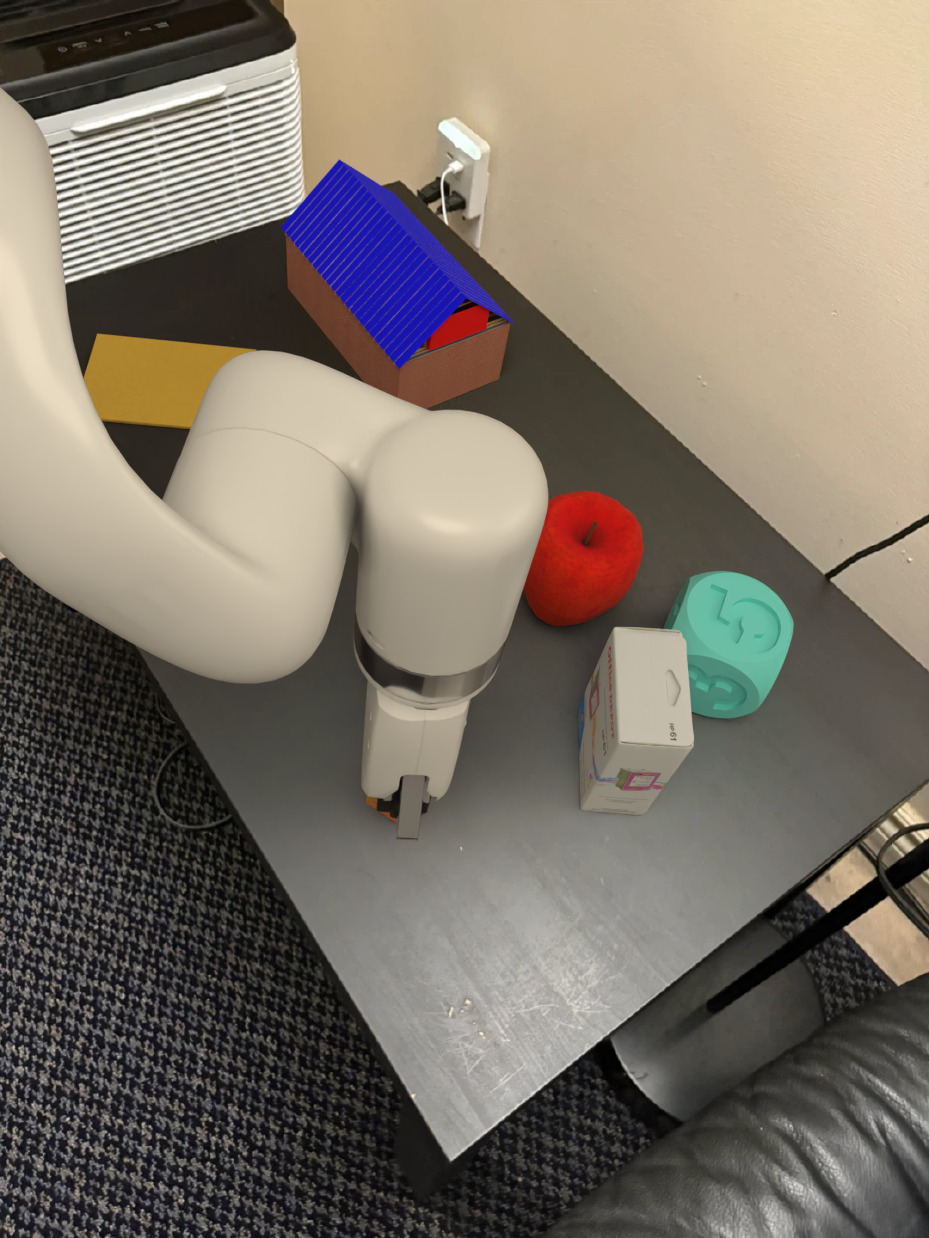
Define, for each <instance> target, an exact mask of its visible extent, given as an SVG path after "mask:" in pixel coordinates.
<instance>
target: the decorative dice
mask: <svg viewBox="0 0 929 1238" xmlns="http://www.w3.org/2000/svg"><path fill="white" fill-rule="evenodd" d="M794 627H795V625H794V620H793V616H792V614H791V612H790V611H789V609H788V608H787V605H786V604H785V603H784V601H783V600H782V598H780V596H779V595H778V594H777V593H776V592H775V591H774V590H773V589H771V588H770V587H769V586H767V585H766V584H765V583H763V582H761V580H758V579H756V578H754V577H751V576H749V575H747V574H744V573H740V572H734V571H728V570H713V571H712V570H711V571H706V572H702V573H697V574H694V575H692V576H690V577H688V578H687V579H686V580H685V582H684V583H683V585H682V587H681V589H680V590H679V593H678V594H677V596H676V598H675V600H674V602H673V605H672V606H671V609H670V611H669V614H668V615H667V617H666V620H665V622H664V625H663V627H662V629H670V630H679V631H680V632H681V633H682V636H683V638H684V639H685V640H686V643H687V662H688V673H689V687H690V700H691V713H695V714H698V715H701V716H703V717H708V718H714V719H736V718H740V717H745V716H747V715H750V714H752V713H755V712H756V711H757V710H758V709H759V708H760V706H762V704H763V703H764V701H765V700H766V699H767V696H768V695H769V693H770V691H771V690H772V688H773V686H774V684H775V682H776V680H777V678H778V676H779V674H780V672H781V669H782V668H783V665H784V662H785V660H786V657H787V655H788V651H789V649H790V646H791V642H792V639H793V635H794Z"/></svg>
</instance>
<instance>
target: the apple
mask: <svg viewBox="0 0 929 1238" xmlns="http://www.w3.org/2000/svg"><path fill="white" fill-rule="evenodd" d="M643 554H644V540H643V530H642V526H641V524H640V523H639V521H638V519H637V516H636V515H635V514H634V513H632V512H631V511H630V510H629V509H628V508H626V507H625V506H624V505H623V504H621V502H619V501H618V500H617V499H616V498H613V497H611V496H608V495H606V494H604V493H602V492H599V491H595V490H577V491H572V492H567V493H560V494H556V495H555V496H553V497H551V499H548V508H547V513H546V517H545V521H544V525H543V528H542V532H541V535H540V538H539V541H538V544H537V547H536V550H535V553H534V556H533V560H532V563H531V566H530V569H529V572H528V575H527V578H526V581H525V584H524V588H523V592H524V594H525V597H526V601H527V603H528V605H529V608H531V610H532V612H533V613H534V615H535V616H536V618H537V619H539V620H541V621H543V622H544V623H546V624H548V625H549V626H552V627H553V626H554V627H566V626H567V627H568V626H574V625H578V624H583V623H586V622H589V621H591V620H593V619H594V618H596V617H598V616H600V615H602V614H604V613H606V612H608V611H609V610H611V609H612V608H613V607H615V606H617V605H618V603H620V601H621V600H622V599H623V598H624V597H625V596H626V594H627V593H628V592H629V591H630V589H631V588H632V586H633V584H634V582H635V579H636V577H637V574H638V571H639V569H640V566H641V564H642V559H643Z"/></svg>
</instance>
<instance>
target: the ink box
mask: <svg viewBox="0 0 929 1238" xmlns="http://www.w3.org/2000/svg"><path fill="white" fill-rule="evenodd" d="M577 728H578V729H577V730H578V731H577V732H578V733H577V735H578V760H579V761H578V762H579V763H578V764H579V799H580V800H579V802H580V805H579V807H580V811H584V812H591V813H593V812H594V813H602V814H604V813H605V814H617V815H629V816H630V815H631V816H643V815H645V814H646V813H647V812H648V811H649V809H650V808H651V806H652V805H653V803H654V802H655V801H656V799H657V797H658V796H659V795H660V793H661V792H662V791H663V790H664V788H665V787H666V785H667V784H668V782H669V781H670V779H671V778H672V777H673V775H674V774H675V773H676V771H677V770H678V768H680V766H681V764H682V763H683V762H684V760H685V759H686V757H687V756H688V755H689V754H690V752H691V751H692V749H694V746H695V743H694V741H695V733H694V726H693V714H692V711H691V700H690V687H689V673H688V662H687V643H686V640H685V639H684V638H683V636H682V633H681V632H680V631H679V630H670V629H663V628H653V627H637V626H636V627H635V626H633V627H632V626H614V627H613V628H612V631H611V633H610V635H609V636H608V638H607V640H606V643H605V645H604V648H603V649H602V652H601V654H600V657H599V659H598V661H597V663H596V666H595V668H594V671H593V673H592V676H591V677H590V679H589V681H588V683H587V686H586V688H585V691H584V692H583V694H582V697H581V700H580V702H579V704H578V706H577Z"/></svg>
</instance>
